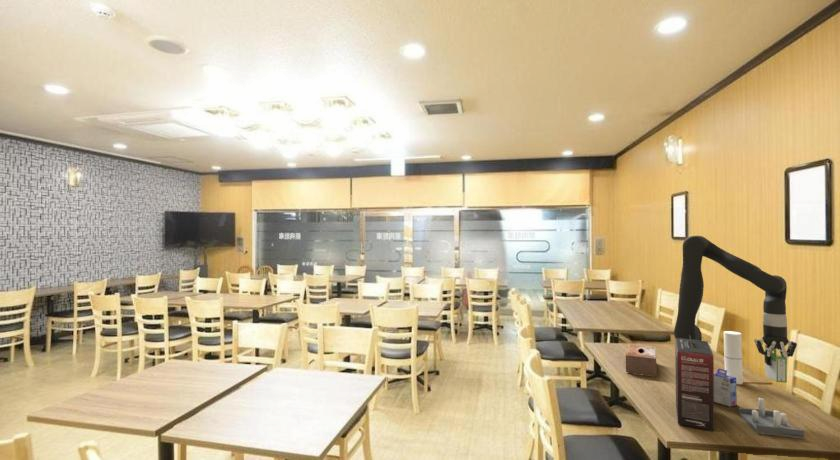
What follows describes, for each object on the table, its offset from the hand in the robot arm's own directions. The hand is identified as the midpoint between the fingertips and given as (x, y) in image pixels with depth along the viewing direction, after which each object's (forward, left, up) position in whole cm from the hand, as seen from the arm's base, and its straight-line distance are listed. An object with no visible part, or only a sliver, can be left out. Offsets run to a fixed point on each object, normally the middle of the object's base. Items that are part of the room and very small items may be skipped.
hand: (775, 365), depth 166 cm
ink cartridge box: (-16, +10, -21) cm, 29 cm away
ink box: (0, 0, -6) cm, 6 cm away
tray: (-7, -11, -21) cm, 25 cm away
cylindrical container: (-1, +41, -21) cm, 47 cm away
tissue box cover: (-41, +52, -22) cm, 70 cm away
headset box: (-32, -10, -21) cm, 40 cm away
